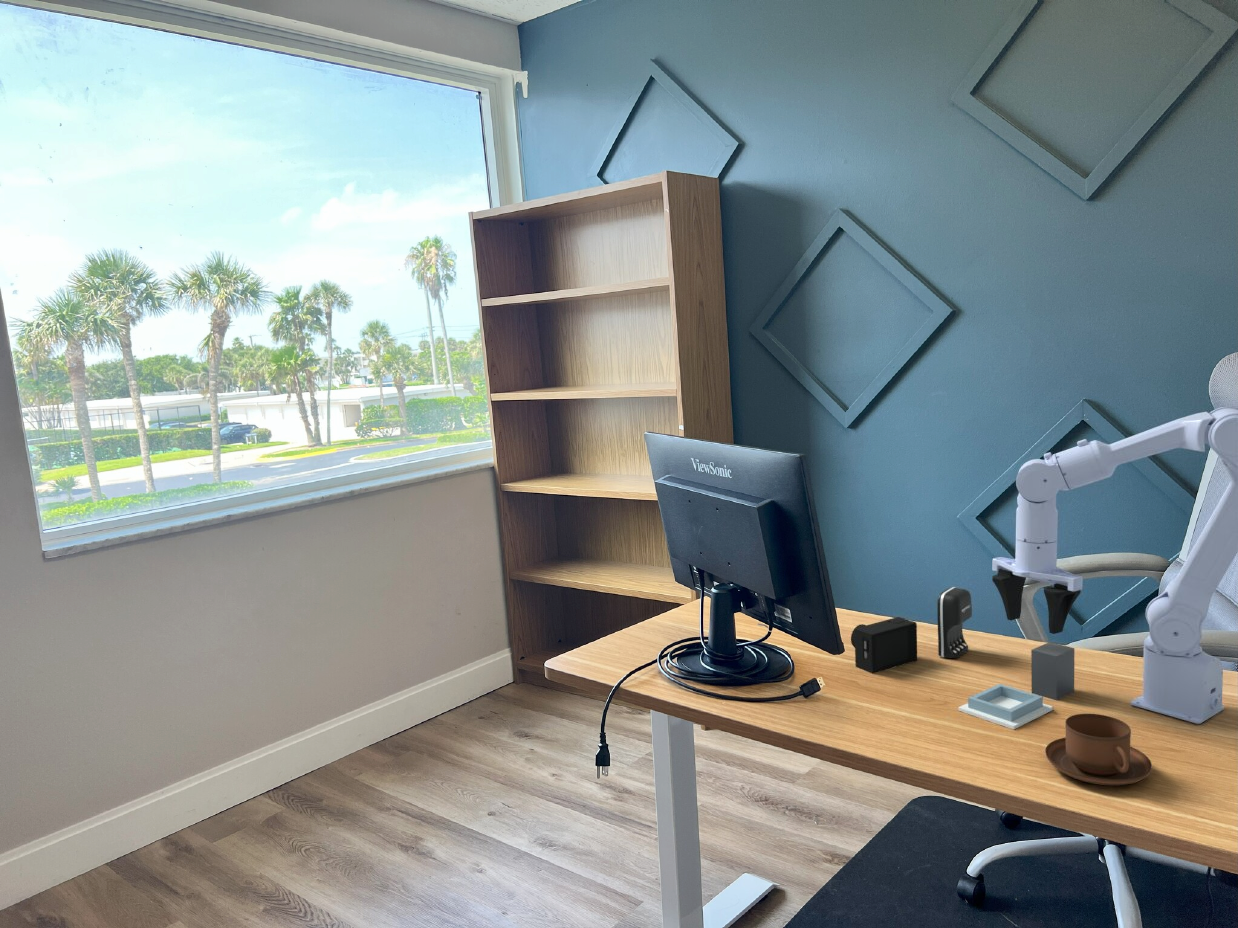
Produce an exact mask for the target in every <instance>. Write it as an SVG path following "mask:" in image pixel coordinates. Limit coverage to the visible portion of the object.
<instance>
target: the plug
mask: <svg viewBox="0 0 1238 928" xmlns="http://www.w3.org/2000/svg"><path fill="white" fill-rule="evenodd" d="M1030 651H1031V652H1030V654H1031V658H1030V659H1031V662H1030V663H1031V693H1032V694H1035V695H1039V696H1042V697H1043V698H1046V699H1050V700H1052V701H1058V700H1061V699H1062V698H1064V697H1067V696H1068V695H1071V694H1072V693H1074V692H1075V648H1074V647H1071V646H1067V645H1063V644H1058V643H1054V642H1051V641H1049V642H1046V643H1044V644H1041V645H1039V646H1037V647H1035V648H1032V649H1031V650H1030Z"/></svg>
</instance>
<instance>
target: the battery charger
mask: <svg viewBox="0 0 1238 928" xmlns="http://www.w3.org/2000/svg"><path fill="white" fill-rule="evenodd" d="M971 595H972V594H971V592H970V591H968V590H967V589H965V588H958V587H956V586H953V587H951V586H950V587H949V588H946V589H945V590H943V591H941V592H940V593H939V595H938V597H937V604H936V605H937V606H936V607H937V609H936V610H937V612H936V614H937V615H936V616H937V617H936V619H937V622H936V623H937V637H938V639H937V642H938V643H937V647H938V648H937V649H938V650H937V651H938V656H939V657H941V658H948V659H949V658H950V659H957V658H958V657H960V656H962V655H963V654H965V653H967V651H968V650H969V645H968V644H967V641H966V639H965V638H964V633H963V623H964V622H967V621H968V620H969V619H971V618H972V616H973V609H972V605H973V604H972V596H971Z"/></svg>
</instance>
